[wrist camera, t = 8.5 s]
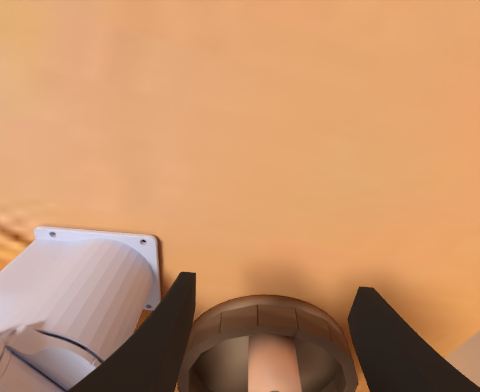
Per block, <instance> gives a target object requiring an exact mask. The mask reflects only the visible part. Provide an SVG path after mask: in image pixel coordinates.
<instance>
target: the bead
mask: <svg viewBox="0 0 480 392" xmlns="http://www.w3.org/2000/svg"><path fill="white" fill-rule="evenodd" d="M248 392H302V390H301V383H300V376H299V369H298V363H297V356H296V349H295V342H294V336H282V335H270V334H254V335H249V345H248Z"/></svg>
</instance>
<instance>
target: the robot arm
mask: <svg viewBox="0 0 480 392" xmlns="http://www.w3.org/2000/svg"><path fill="white" fill-rule="evenodd" d="M53 232H54V233H55V234H54V233H53ZM34 235H35V238H36V239H35V240H34V241H33V242H32V243H31V244H30V245H29V246H28V247H27V248H26V249H25V250H23V251H22V252H21V253H20V254H19V255H18V256H17V257H16V258H15V259H14V260H12V261H11V262H10V263H9V264H8V265H7V266H6V267H5V268H4V269H3V270H2V271H0V392H174V391H175V387H176V383H177V379H178V375H179V372H180V368H181V365H182V361H183V358H184V354H185V351H186V347H187V343H188V340H189V336H190V333H191V329H192V323H193V317H194V311H195V296H196V273H191V272H181V273H179V275H178V277H177V279H176V280H175V282H174V283H173V285H172V286H171V288H170V289H169V291H168V292H167V294H166V295H165V296H164V298H163V299H162V300H161V292H160V276H159V260H158V243H157V238H156V237H154V236H152V235H144V234H132V233H121V232H109V231H97V230H85V229H73V228H62V227H50V226H38V227H37V228H35V229H34ZM142 240H145V241H146V242H143V241H142ZM143 310H154V311H153V312H152V313H151V314H150V315H149V316H148V318H147V319H146V320H145V321H144V322H143V323H142V325H141V326H140V327H139V328H138V329H137V330H136V331H135V332H134V330H135V328H136V325H137V323H138V320H139V318H140V315H141V313H142V311H143ZM348 323H349V328H350V333H351V337H352V341H353V345H354V348H355V351H356V354H357V356H358V359H359V362H360V365H361V368H362V371H363V373H364V376H365V379H366V382H367V385H368V387H369V390H370V392H480V387H478V386H477V385H476V384H474V383H473V382H472V381H470V380H469V379H468V378H467V377H465V376H464V375H463V374H462V373H460V372H459V371H458V370H457V369H455V368H454V367H453V366H452V365H451V364H450V363H449V362H447V361H446V360H445V359H444V358H443V357H442V356H440V355H439V354H438V353H437V352H436V351H435V350H434V349H433V348H432V347H431V346H430V345H429V344H427V343H426V342H425V341H424V340H423V339H422V338H421V337H420V336H419V335H418V334H417V333H416V332H415V331H414V330H413V329H412V328H411V327H410V326H409V325H408V324H407V323H406V322H405V321H404V320H403V319H402V318H401V317H400V316H399V315H398V314H397V313H396V311H395V310H394V309H393V308H392V307H391V306H390V305H389V304H388V303H387V302H386V301H385V300H384V299H383V298H382V297H381V295H380V294H379V293H378V292H377V291H376V290H375V289H374V288H370V287H359V288H358V291H357V294H356V297H355V300H354V302H353V305H352V308H351V311H350V314H349V316H348Z"/></svg>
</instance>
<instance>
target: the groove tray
mask: <svg viewBox="0 0 480 392" xmlns="http://www.w3.org/2000/svg"><path fill="white" fill-rule="evenodd" d="M254 334H270V335H282V336H294V342H295V349H296V356H297V363H298V369H299V376H300V383H301V390H302V392H355V390H356V388H357V385H358V379H357V375H356V371H355V367H354V362H353V359H352V356H351V353H350V350H349V347H348V343H347V340H346V339H345V337H344V334H343V332H342V330H341V328H340V327H339V325H338V324H337V323H336V322H335V320H334V319H333V318H332V317H330V316H329V315H328V314H327V313H326V312H324V311H322V310H321V309H319V308H318V307H316V306H314V305H312V304H309V303H307V302H304V301H301V300H298V299H294V298H290V297H285V296H277V295H252V296H245V297H239V298H236V299H232V300H228V301H226V302H223V303H220V304H218V305H216V306H214V307H212V308H210V309H209V310H207V311H206V312H205V313H203V314H202V315H201V316H200V317H199V318H198V319H196V320H195V322H194V323H193V324H192V329H191V333H190V336H189V340H188V343H187V347H186V351H185V354H184V358H183V361H182V365H181V368H180V372H179V375H178V379H177V380H178V391H179V392H248V345H249V335H254Z"/></svg>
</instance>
